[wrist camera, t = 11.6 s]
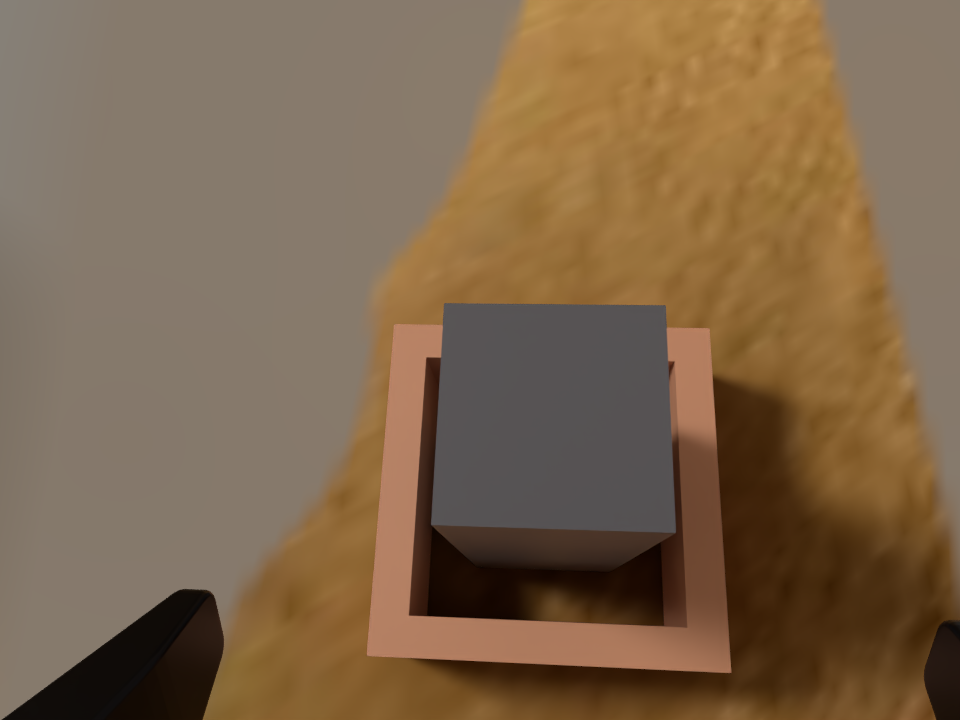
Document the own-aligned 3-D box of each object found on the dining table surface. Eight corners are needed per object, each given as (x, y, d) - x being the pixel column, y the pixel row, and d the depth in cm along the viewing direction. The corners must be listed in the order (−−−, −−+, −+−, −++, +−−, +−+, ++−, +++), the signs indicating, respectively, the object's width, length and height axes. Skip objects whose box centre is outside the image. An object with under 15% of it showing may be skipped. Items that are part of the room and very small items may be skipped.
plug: (609, 572, 22) (675, 533, 12) (477, 567, 23) (431, 524, 12) (607, 441, 24) (665, 305, 13) (481, 439, 24) (444, 303, 14)
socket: (700, 664, 21) (731, 673, 18) (391, 650, 22) (366, 655, 19) (685, 367, 24) (709, 328, 21) (412, 362, 25) (394, 324, 22)
